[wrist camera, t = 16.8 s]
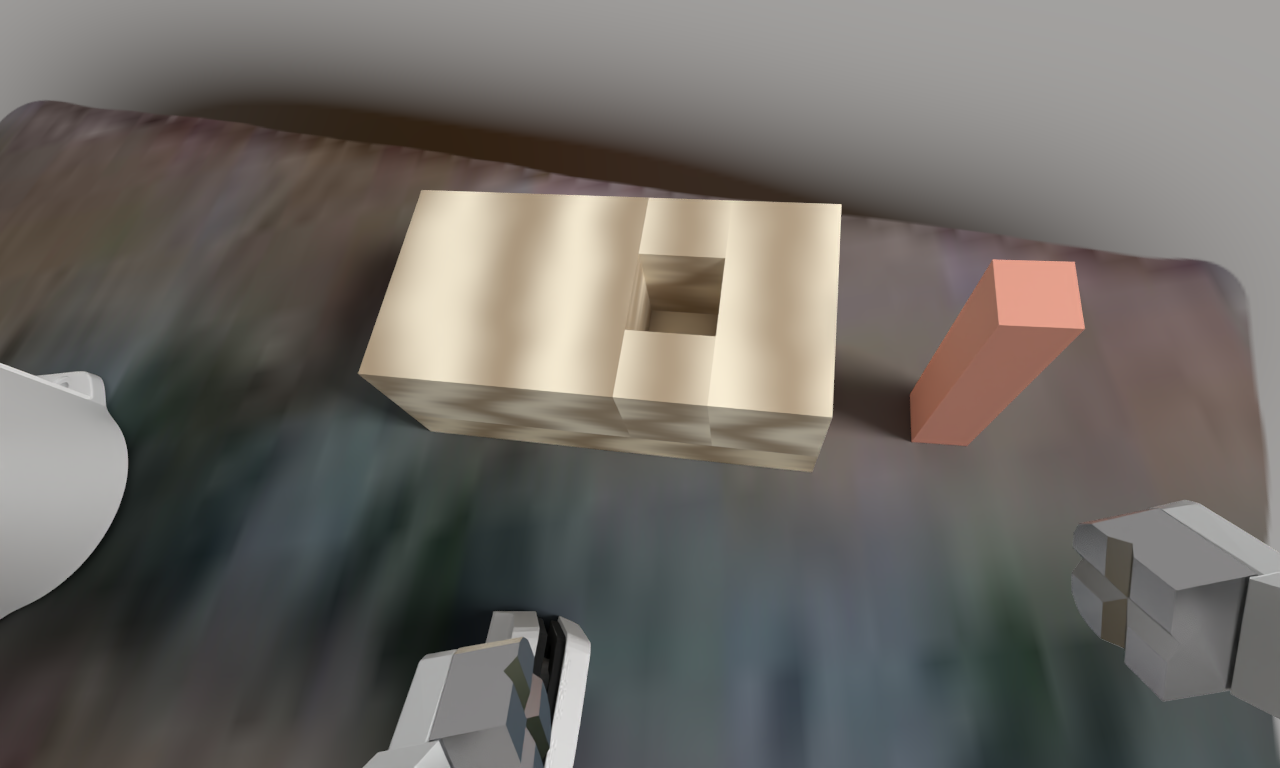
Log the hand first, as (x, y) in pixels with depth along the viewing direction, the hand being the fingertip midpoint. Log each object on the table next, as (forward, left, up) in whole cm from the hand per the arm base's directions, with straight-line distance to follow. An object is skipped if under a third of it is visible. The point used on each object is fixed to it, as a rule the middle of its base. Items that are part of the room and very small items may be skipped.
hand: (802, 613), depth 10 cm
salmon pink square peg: (+9, +14, -27) cm, 32 cm away
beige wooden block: (-10, +16, -27) cm, 33 cm away
